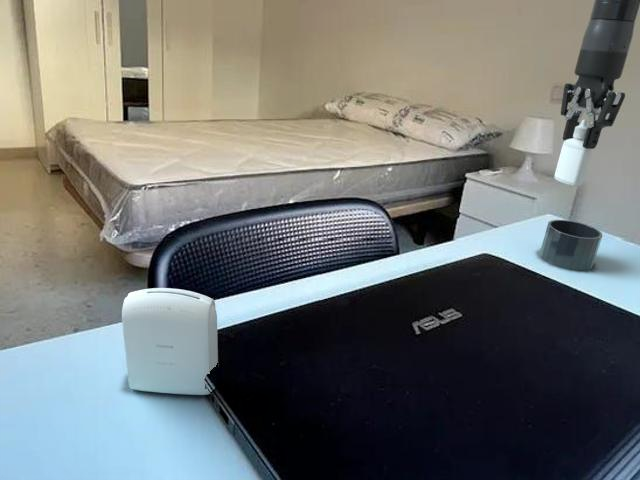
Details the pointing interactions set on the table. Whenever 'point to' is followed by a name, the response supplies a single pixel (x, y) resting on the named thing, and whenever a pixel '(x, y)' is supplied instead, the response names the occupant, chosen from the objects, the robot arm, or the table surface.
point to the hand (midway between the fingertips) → (578, 144)
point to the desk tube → (570, 245)
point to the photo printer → (169, 340)
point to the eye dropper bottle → (573, 158)
